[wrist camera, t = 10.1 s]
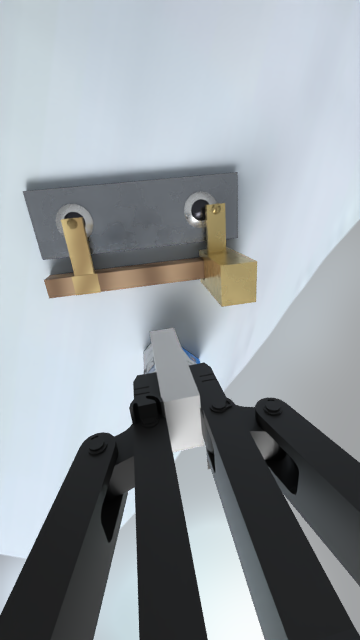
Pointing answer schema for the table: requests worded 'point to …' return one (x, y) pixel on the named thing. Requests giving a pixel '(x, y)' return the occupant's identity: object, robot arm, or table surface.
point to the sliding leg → (226, 263)
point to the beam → (113, 269)
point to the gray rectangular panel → (132, 213)
